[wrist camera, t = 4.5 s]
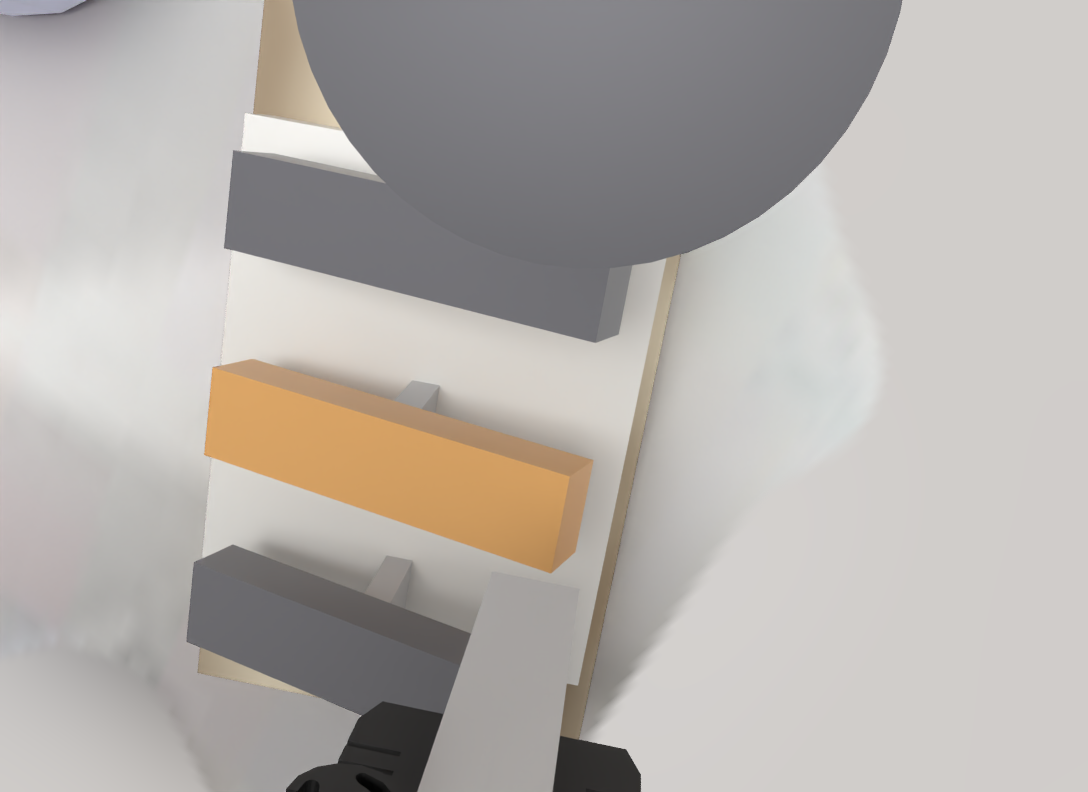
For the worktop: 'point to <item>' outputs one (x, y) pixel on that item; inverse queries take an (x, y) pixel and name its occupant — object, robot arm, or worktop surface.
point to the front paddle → (405, 248)
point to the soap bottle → (36, 6)
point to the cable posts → (594, 112)
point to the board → (298, 96)
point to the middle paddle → (400, 462)
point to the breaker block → (430, 384)
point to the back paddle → (321, 634)
